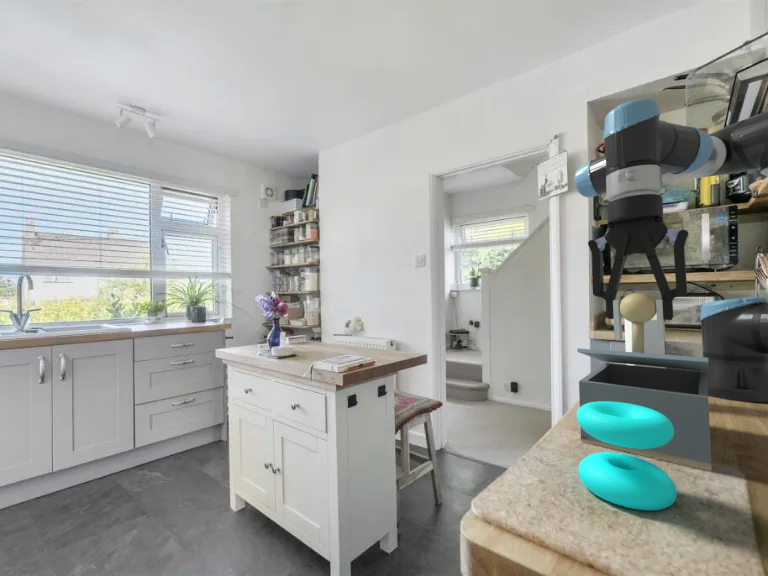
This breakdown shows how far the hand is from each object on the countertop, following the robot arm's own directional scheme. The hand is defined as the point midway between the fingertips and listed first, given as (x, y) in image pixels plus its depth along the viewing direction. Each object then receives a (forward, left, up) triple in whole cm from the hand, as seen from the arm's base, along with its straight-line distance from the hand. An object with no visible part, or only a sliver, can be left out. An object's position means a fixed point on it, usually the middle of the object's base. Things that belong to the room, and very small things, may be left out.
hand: (639, 339), depth 58 cm
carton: (-5, -4, -17) cm, 18 cm away
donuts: (+14, +11, -17) cm, 25 cm away
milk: (-24, -21, -17) cm, 36 cm away
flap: (-5, -4, -5) cm, 8 cm away
